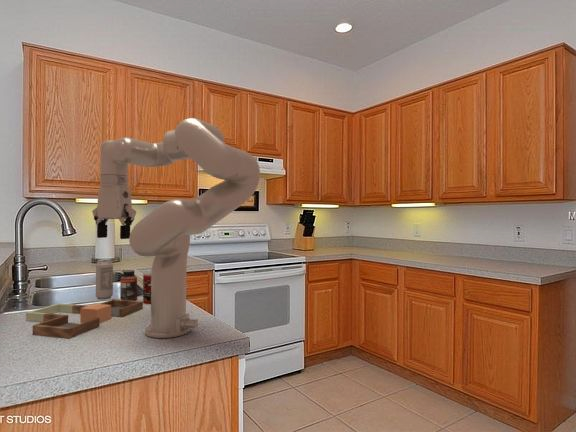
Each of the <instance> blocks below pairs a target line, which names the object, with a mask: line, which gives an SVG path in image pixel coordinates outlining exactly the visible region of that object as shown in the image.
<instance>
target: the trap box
mask: <svg viewBox="0 0 576 432" xmlns="http://www.w3.org/2000/svg"><path fill="white" fill-rule="evenodd" d="M100 304H106V305H111V317H117V318H123V317H126V316H128V315H130V314H133V313H135V312H138V311H140V310H143V309H144V302H143V300H142V301H141V300H140V301H139V300H133V301H129V300H121V299H110V300H106V301H103V302H102V303H100ZM86 306H87V305H85V304H84V305H83V304H82V305H81V304H70V303H69V304H67V303H56V304H52V305H48V306H44V307H41V308H38V309H34V310H30V311H28V312H27V311H26V312H25V321H27V322H34V323H35V322H37V324H33V325H32V336H43V337H52V338H62V339H72V338H74V337H76V336H79V335H82V334H84V333H87V332H88V331H91V330H93V329H97V328H99V327H100V318H94V319H91V320H89V321H86V322H83V323H81V322H80V323H75V322H69V314H79V315H80V309H81V308H83V307H86ZM60 313H68V314H60ZM38 322H39V323H38Z"/></svg>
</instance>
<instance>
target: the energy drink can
mask: <svg viewBox="0 0 576 432" xmlns="http://www.w3.org/2000/svg"><path fill="white" fill-rule="evenodd" d="M113 294H114V263H113V261H112V259H111V258H110V259H107V258H106V259H98V260H97V262H96V264H95V298H96V299H97V300H101V301H102V300H109V299H110V300H111V299H112V296H113Z"/></svg>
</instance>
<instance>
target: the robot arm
mask: <svg viewBox="0 0 576 432" xmlns="http://www.w3.org/2000/svg"><path fill="white" fill-rule="evenodd" d="M225 141H226V140H225V136H224V134H223V132H222V131H221V129H219V128H218V127H217V126H216V125H213V124H212V123H209V122H206V121H204V120H201V119H199V118H195V117H189V118H186V119H183V120H182V121H180V122H179V123H178V124H177V126H176V127H175V129H172V130H168V131H166V132H165V133H164V134H163V136H162V141H161V142H154V143H151V142H148V141H144V140H140V139H135V138H132V137H129V136H128V137H127V136H126V137H120V138H117V139H115V140H112V139H111V140H110V139H109V140H108V139H107V140H104V141H102V142H101V144H100V168H99V169H100V172H99V173H100V174H99V175H100V176H99V180H100V181H99V184H100V185H99V190H98V194H97V195H98V196H97V205H96V207H95V208H94V209H92V216H93V220H94V221H95V225H96V237H97V238H98V239H103V238H107V237H108V224H107V223H108V221H109V220H119V222H120V224H121V225H120V229H119V230H120V231H119V239H120V240H127V239H128V240H129V241H128V243H129V245H130V246H129V247H130V248H131V250H132V251H133V252H134V253H135V254H137V255H139V256H142V257H147V258H148V257H154V259H153V262H152V264H151V269H150V270H151V271H150V272H151V304H150V324H149V325H147V326H146V327H145V328H144V334H145V335H146V336H147V337H149V338H155V339H156V338H157V339H169V338H176V337H180V336H183V335H186V334H188V333H189V332H190V331H191V332H192V329H197V328H198V325H199V323H198V322H199V321H198V319H194V318H193V319H191V318H190V313H187V270H188V269H187V268H188V267H187V265H188V254H189V249H190V244H191V236H192V235H194V236H195V235H201V234H202V233H205V232H206V231H207V230H209V229H210V228H212V227H213V226H214V225H216V224H217V223H219V222H220V221H221V220H223V219H224V218H226V217H227V216H228V215H230V214H231V213H232V212H234V211H235V210H237V209H238V208H240V207H242V206H243V205H244V204H245V203H246V202H247V201H248V200H249V199H250V198H251V197H252V196H253V195H254V193H255V192H256V190H257V188H258V187H259V184H260V183H259V182H260V177H261V169H260V166H259V162H258V161H257V159H256V158H255V157H254V156H253V154H250V153H248V152H247V151H245V150H242V149H240V148H237V147H233V146H232V145H231V146H230V145H229V144H227V143H225ZM184 160H192V161H193V162H195V164H197V165H198V166H199V167H200V168H201V169H202V170H203V171H204V172H206V173H207V174H208V175H210V176H211V177H213V178H216V179H219V180H223V181H221V182H219V183H217V184H215V185H213V186H211V187H210V188H208V189H206V191H205V192H203V193H201V194H200V195H199V196H197V197H195V198H174V199H170V200H167V201H165V202H163V203H162V204H160V205H159V206H157V207H156V208H155V209H154V210H152V211H151V212H150V213H148V214H146V215H145V216H144V217H143V218H142V219H140V220H139V221H138V222H137V223H135V224H134V226H133V227H132V229H131V226H132V225H133V223H134V221H135V218H136V217H135V216H136V215H137V211H136V210H135V209H134V208H133V207H132V206H133V203H132V194H131V189H130V186H128V182H129V178H128V173H129V172H128V171H129V169H128V168H129V167H128V165H134V166H140V167H144V168H155V167H156V168H158V167H165V166H166V167H167V166H171V165H173V164H175V163H177V162H178V161H184Z"/></svg>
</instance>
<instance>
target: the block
mask: <svg viewBox="0 0 576 432" xmlns="http://www.w3.org/2000/svg"><path fill="white" fill-rule="evenodd" d="M85 306H86V307H83V308H81V309H80V314H79V317H80V319H79V320H80V324H81V323H83V322H86V321H89V320H91V319H94V318H100V323H103V322H106V321H108V320H112V316H111V305H106V304H101V303H93V304H90V305H85Z"/></svg>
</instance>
